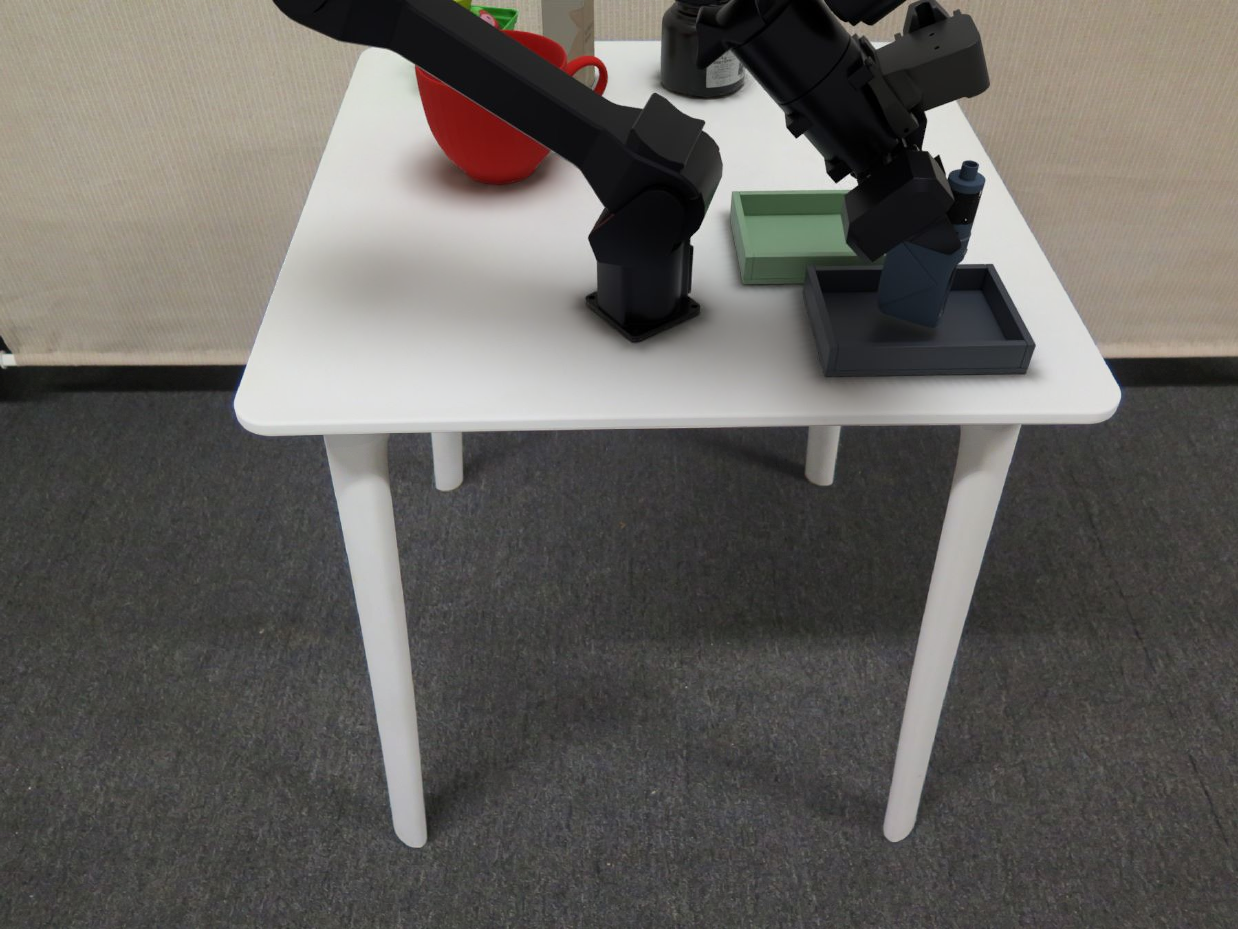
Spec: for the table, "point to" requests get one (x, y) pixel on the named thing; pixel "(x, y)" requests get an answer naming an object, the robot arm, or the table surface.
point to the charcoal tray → (915, 326)
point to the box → (571, 31)
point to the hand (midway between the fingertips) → (950, 234)
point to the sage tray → (789, 234)
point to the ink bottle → (693, 57)
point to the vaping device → (930, 259)
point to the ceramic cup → (492, 120)
